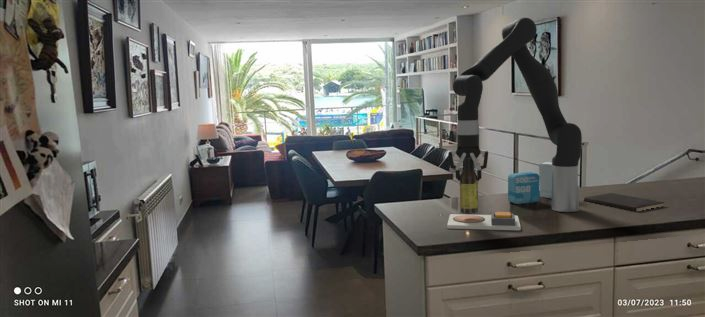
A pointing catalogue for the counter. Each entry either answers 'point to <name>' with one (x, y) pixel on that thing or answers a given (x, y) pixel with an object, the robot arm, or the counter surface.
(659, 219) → the counter surface
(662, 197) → the counter surface
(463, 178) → the sauce bottle
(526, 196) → the data package
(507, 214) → the button
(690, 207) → the counter surface
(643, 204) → the hardcover book
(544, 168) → the skincare box
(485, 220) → the white control panel
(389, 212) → the counter surface
